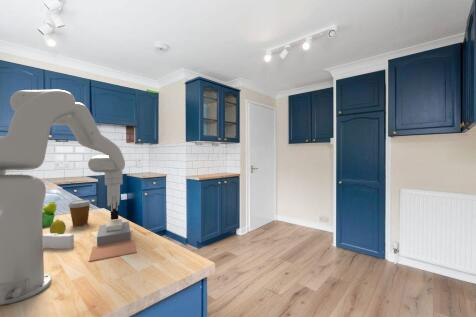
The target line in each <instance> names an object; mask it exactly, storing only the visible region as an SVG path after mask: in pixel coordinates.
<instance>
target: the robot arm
mask: <svg viewBox="0 0 476 317" xmlns="http://www.w3.org/2000/svg"><path fill="white" fill-rule="evenodd" d="M9 104H10V107H11V109H12V110H13V112H14V114H13V116H11V117H12V118H11V122H10V124H9V127H8V129H7V130H8V131H7V133H6V135H2V136H1V135H0V306H1V305H9V304H13V303H17V302H21V301H23V300H27V299H28V298H31V297H33V296H35V295H37V294H39V293H41V292H43V291H44V290H45V289H47V288H48V287H49V286H50V285H51V282H52V276H51V275H50V274H47V273H45V268H44V267H45V266H44V264H45V262H44V261H45V260H44V248H43V235H44V234H43V233H44V232H43V227H42V212H44V210H43V208H44V204H45V203H44V202H45V199H46V194H47V188H46V184H45V182H44V181H43V180H41V178H39V177H37V176H34V175H30V174H6V173H7V171H28V170H36V169H38V168H40V167H41V166H42V165H43V164H44V161H45V158H46V155H47V154H46V153H47V147H48V141H49V138H50V134H51V133H50V131H51V128H52V126H67V127H69V129H70V132H71V133H72V134H73V136H74V137H75V139H76V141H77V143H78V144H79V145H81V146H82V147H85V148H88V149H90V150H94V151H98V152H100V153H102V154H103V155H94V156H92V157H91V158H90V159H89V161H88V163H87V166H88V169H89V170H90V171H92V172H94V173H104V186H107V187H106V189H107V191H106V194H107V196H106V198H107V207H110V221H111V220H119V210H118V207H119V205H120V202H121V201H120V200H121V199H120V198H121V185H123V170H125V167H126V162H125V161H126V160H125V158H124V155H123V152H122V151H121V149H120V148H119V146H118V145H117V144H116V143H114V142H113V141H112V140H111V139H109V138H108V137H106V136H104V135H102V134H101V131H100V130H99V127H98V126H97V124H96V122H95V119H94V117H93V116H92V115H93V114H92V113H91V112H90V110H89V108H88V106H86V105H85V104H84V103H81V102H77V101H76V98H75V96H74V95H73V94H72V93H71V92H69V91H66V90H62V89H39V90H38V89H32V90H31V89H28V90H27V89H25V90H17V91H16V92H14V93H13V94H12V95H11V96H10V99H9Z"/></svg>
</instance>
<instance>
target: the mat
mask: <svg viewBox="0 0 476 317" xmlns="http://www.w3.org/2000/svg"><path fill="white" fill-rule="evenodd" d="M136 253H137V246H136V241H135V239H131V240H129V241H123V242H118V243H112V244H106V245H100V246H97V245H95V246H92V248H91V253H90V255H89V259H88V262H89V263H91V262H95V261H100V260H105V259H106V260H107V259H112V258H115V257H120V256H121V257H122V256H126V255H132V254H136Z"/></svg>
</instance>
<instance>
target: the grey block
mask: <svg viewBox="0 0 476 317" xmlns="http://www.w3.org/2000/svg"><path fill="white" fill-rule="evenodd" d="M106 225H107V224H101V225H99V228H98V231H97V236H96V246H100V245H106V244H112V243H118V242H123V241H129V240H132V239H131V238H132V237H131V227H130V222H129V221H122V229H119V230H113V231H106Z"/></svg>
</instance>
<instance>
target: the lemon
mask: <svg viewBox="0 0 476 317" xmlns="http://www.w3.org/2000/svg"><path fill="white" fill-rule="evenodd" d="M49 226H50V227H49V234H54V233H58V234H65V232H66V230H67V226H66V223H65V222H64V221H63V220H60V219H56V220H53V223H52V224H51V225H49Z"/></svg>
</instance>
